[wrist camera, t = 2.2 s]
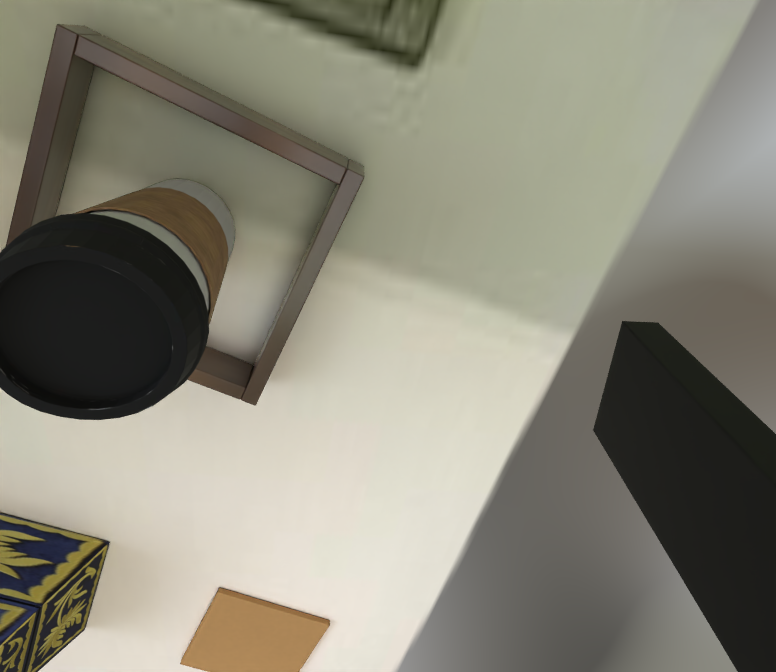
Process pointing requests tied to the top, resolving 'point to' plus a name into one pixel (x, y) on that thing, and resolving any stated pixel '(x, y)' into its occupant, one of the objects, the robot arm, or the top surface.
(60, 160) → the wooden square frame
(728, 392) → the robot arm
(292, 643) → the coaster
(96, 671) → the top surface
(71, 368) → the coffee cup
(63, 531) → the decorative box
